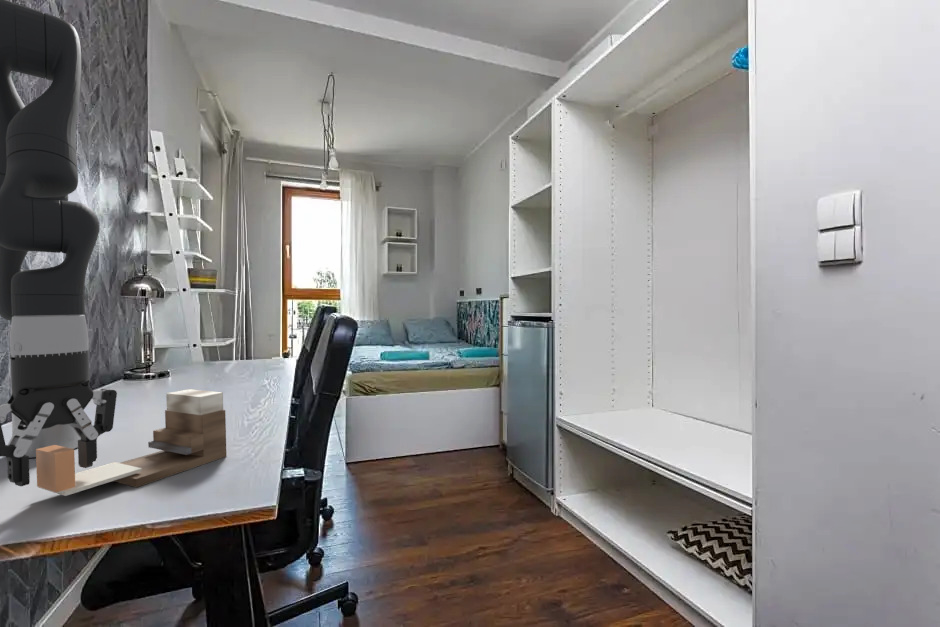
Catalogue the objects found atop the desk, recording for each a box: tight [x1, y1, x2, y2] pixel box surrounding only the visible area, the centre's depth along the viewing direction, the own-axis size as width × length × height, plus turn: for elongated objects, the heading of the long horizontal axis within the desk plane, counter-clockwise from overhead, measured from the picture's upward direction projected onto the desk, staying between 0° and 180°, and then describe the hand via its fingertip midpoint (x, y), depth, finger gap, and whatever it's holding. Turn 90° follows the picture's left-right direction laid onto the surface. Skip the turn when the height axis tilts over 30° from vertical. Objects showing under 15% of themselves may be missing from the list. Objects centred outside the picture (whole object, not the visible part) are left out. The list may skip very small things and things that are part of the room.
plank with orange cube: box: [35, 445, 142, 497], centre depth 62 cm, size 7×10×6 cm
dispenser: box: [113, 388, 228, 488], centre depth 71 cm, size 10×14×11 cm
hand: (55, 474), depth 58 cm, fingers open, 6 cm apart
